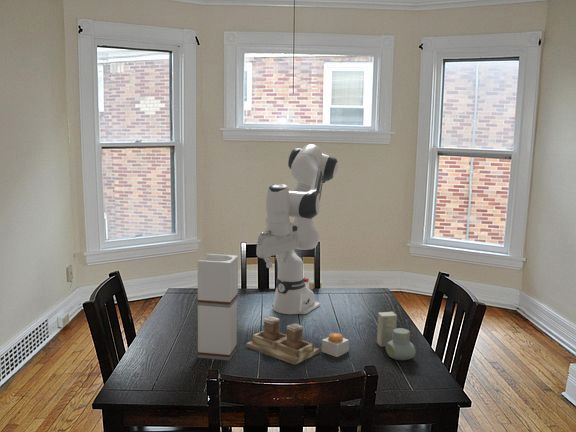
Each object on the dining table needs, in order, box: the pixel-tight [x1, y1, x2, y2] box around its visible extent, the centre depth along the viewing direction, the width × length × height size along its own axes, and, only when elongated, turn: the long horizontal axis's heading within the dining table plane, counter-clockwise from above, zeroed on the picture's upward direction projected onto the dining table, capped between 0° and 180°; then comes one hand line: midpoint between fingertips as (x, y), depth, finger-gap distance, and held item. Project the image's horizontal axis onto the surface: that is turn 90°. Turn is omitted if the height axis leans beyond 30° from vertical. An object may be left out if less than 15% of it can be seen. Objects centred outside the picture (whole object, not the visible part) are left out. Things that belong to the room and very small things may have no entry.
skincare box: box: [376, 311, 398, 347], centre depth 216 cm, size 6×4×12 cm
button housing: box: [321, 336, 350, 358], centre depth 209 cm, size 7×7×4 cm
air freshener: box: [385, 327, 417, 361], centre depth 205 cm, size 11×8×10 cm
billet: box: [286, 323, 304, 350], centre depth 205 cm, size 4×4×9 cm
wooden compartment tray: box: [246, 316, 320, 366], centre depth 209 cm, size 14×23×10 cm, turn 50°
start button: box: [328, 332, 344, 343], centre depth 208 cm, size 5×5×3 cm
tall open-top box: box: [197, 253, 239, 362], centre depth 203 cm, size 11×11×35 cm
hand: (277, 264), depth 214 cm, fingers open, 8 cm apart
